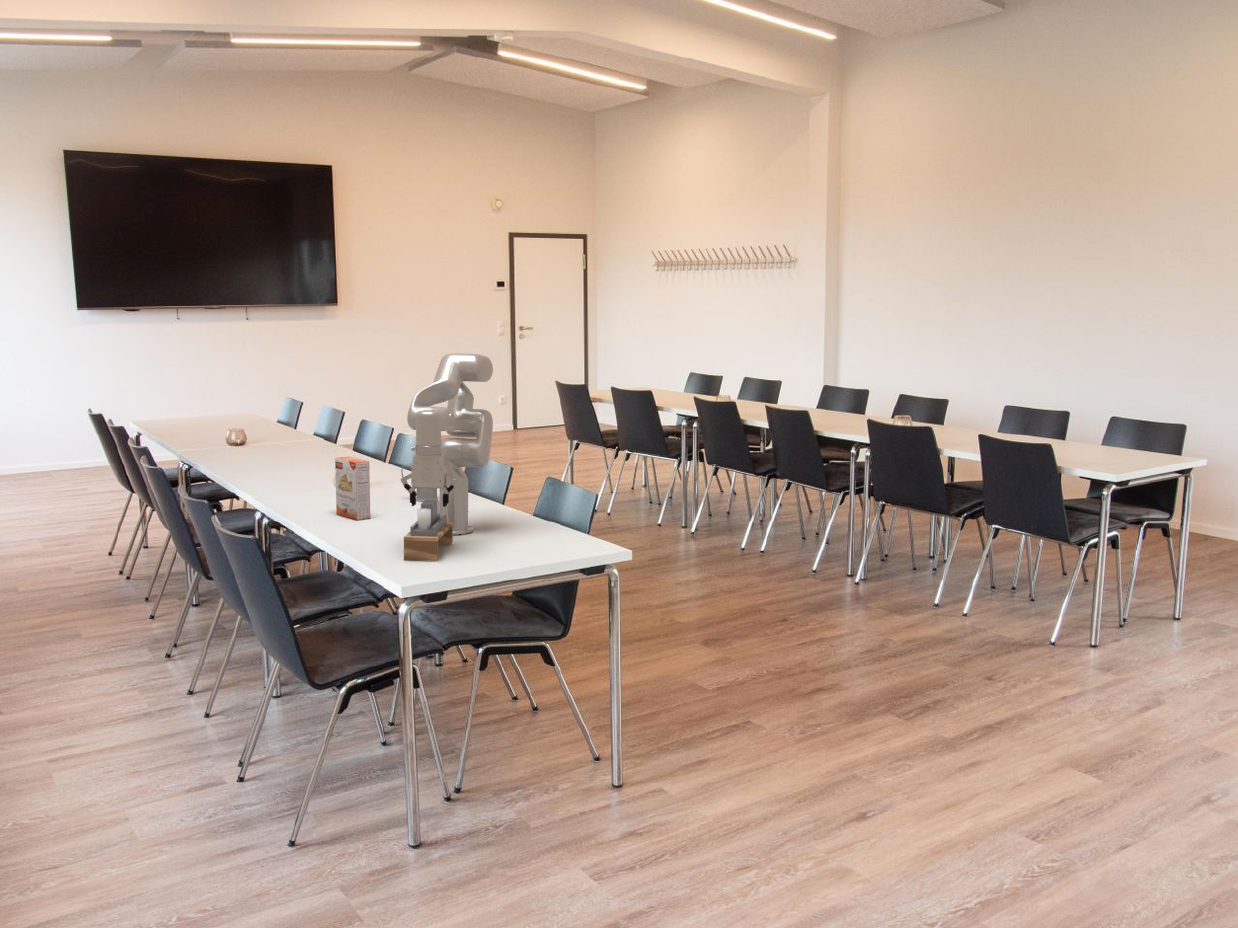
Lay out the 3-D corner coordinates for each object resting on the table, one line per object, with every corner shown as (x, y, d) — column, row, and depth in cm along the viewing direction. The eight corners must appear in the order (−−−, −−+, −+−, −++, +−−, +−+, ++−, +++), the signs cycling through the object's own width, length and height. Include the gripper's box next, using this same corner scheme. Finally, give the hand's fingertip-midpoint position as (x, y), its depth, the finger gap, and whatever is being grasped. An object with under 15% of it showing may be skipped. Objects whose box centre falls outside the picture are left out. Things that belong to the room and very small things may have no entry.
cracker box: (335, 514, 381) (334, 457, 378) (350, 512, 385) (349, 455, 382) (355, 521, 371) (354, 461, 368) (370, 518, 375) (370, 460, 372)
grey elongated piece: (424, 522, 337) (424, 496, 335) (446, 523, 336) (446, 496, 335) (410, 535, 317) (410, 507, 316) (433, 536, 317) (433, 508, 315)
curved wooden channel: (421, 542, 340) (421, 521, 339) (452, 543, 339) (452, 522, 338) (403, 560, 316) (403, 537, 315) (437, 561, 315) (437, 538, 314)
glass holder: (435, 502, 409) (435, 464, 407) (399, 501, 409) (398, 463, 407) (440, 498, 417) (440, 460, 415) (404, 497, 418) (403, 459, 416)
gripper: (397, 451, 320) (398, 507, 322) (454, 453, 319) (455, 508, 322) (403, 448, 327) (404, 502, 330) (459, 449, 326) (459, 503, 329)
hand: (429, 505), depth 326 cm, fingers open, 9 cm apart
